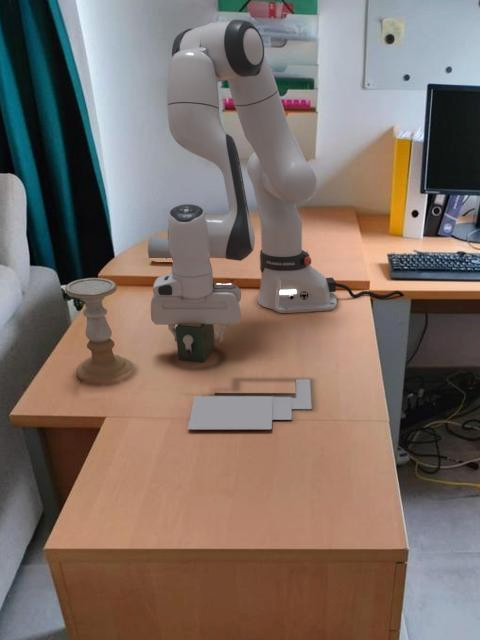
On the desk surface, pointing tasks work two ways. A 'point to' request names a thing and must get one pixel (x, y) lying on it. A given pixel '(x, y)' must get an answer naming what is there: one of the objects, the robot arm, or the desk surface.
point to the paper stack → (248, 408)
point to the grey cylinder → (158, 248)
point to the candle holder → (97, 330)
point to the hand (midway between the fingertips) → (199, 340)
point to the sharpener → (194, 341)
